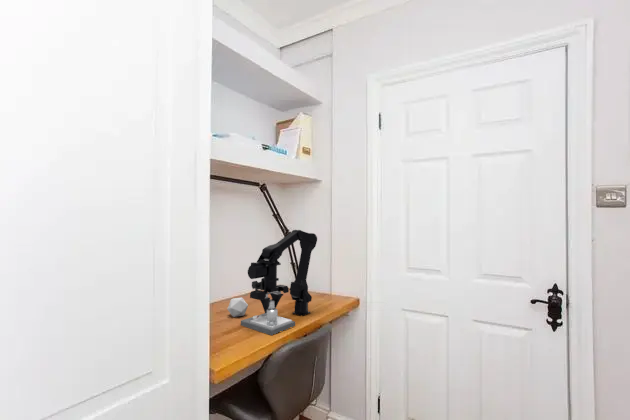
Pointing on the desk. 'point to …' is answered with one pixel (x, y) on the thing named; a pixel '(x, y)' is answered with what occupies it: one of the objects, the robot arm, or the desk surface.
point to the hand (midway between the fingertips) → (269, 311)
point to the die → (237, 307)
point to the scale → (261, 324)
